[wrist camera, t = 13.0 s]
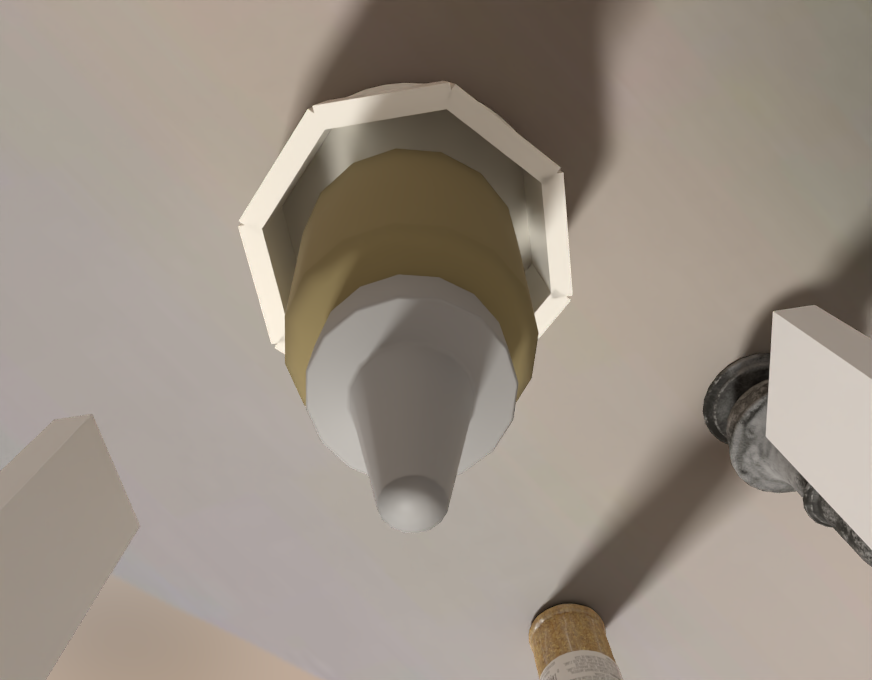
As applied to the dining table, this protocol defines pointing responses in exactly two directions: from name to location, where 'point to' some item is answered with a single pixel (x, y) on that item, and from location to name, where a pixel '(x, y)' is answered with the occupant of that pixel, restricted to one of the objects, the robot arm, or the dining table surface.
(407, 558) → the dining table surface
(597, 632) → the sprinkles bottle
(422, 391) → the squeeze bottle
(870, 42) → the dining table surface
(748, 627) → the dining table surface
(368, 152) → the crock
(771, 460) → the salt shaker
